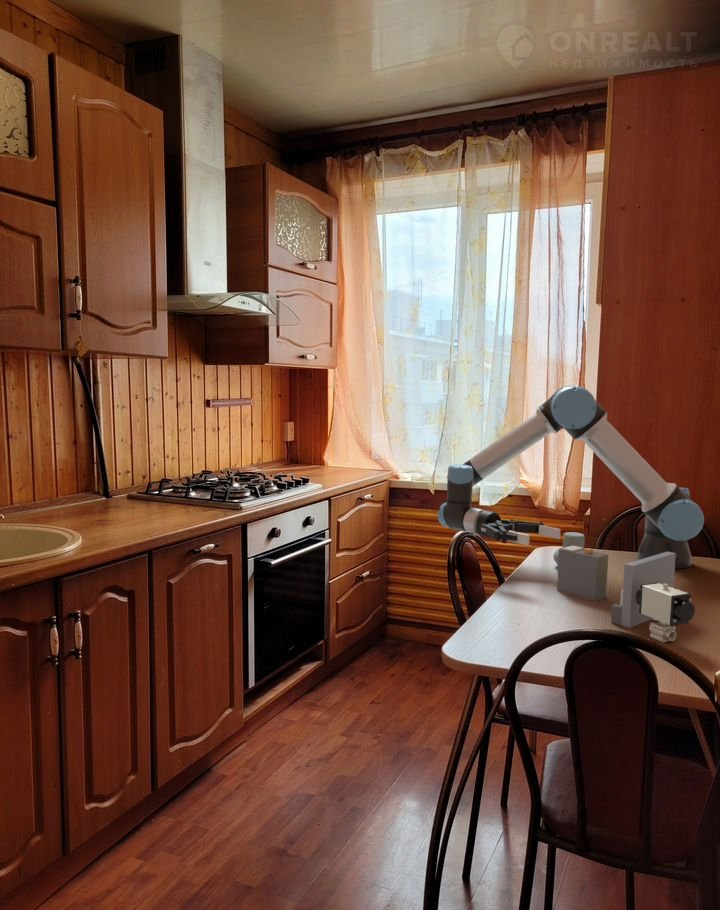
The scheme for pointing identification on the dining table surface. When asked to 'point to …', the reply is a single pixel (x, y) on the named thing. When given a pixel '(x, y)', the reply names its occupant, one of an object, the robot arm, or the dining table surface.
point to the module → (582, 572)
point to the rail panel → (634, 576)
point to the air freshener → (570, 542)
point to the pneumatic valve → (664, 609)
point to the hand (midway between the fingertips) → (544, 537)
